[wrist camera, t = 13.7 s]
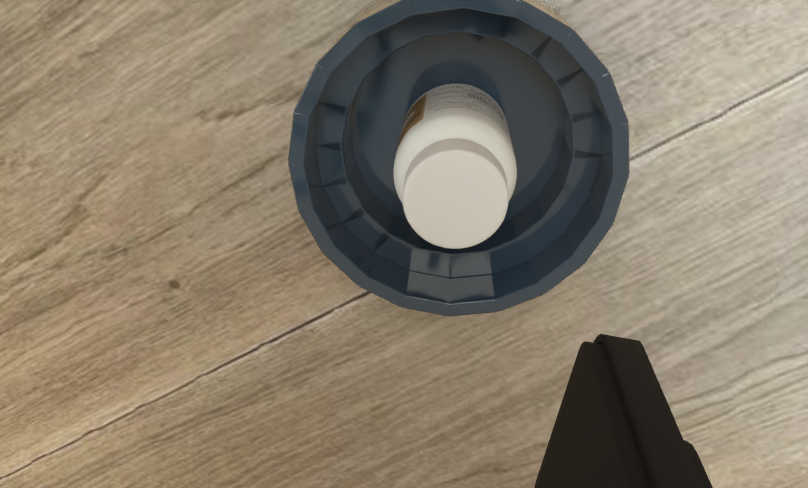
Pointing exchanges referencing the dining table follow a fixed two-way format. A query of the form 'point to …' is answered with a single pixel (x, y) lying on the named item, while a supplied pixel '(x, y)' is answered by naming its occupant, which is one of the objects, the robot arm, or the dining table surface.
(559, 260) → the bowl
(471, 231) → the pill bottle
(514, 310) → the dining table surface
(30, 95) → the dining table surface
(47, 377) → the dining table surface
